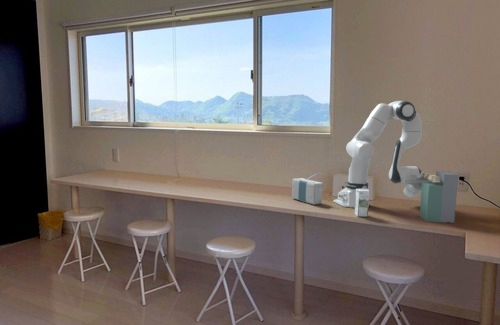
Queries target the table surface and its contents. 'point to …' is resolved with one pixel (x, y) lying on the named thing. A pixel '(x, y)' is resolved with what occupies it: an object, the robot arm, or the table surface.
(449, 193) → the stepped riser
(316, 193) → the stereo radio cassette player
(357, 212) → the syrup box
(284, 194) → the table surface
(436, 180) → the ash rod
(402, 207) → the table surface
